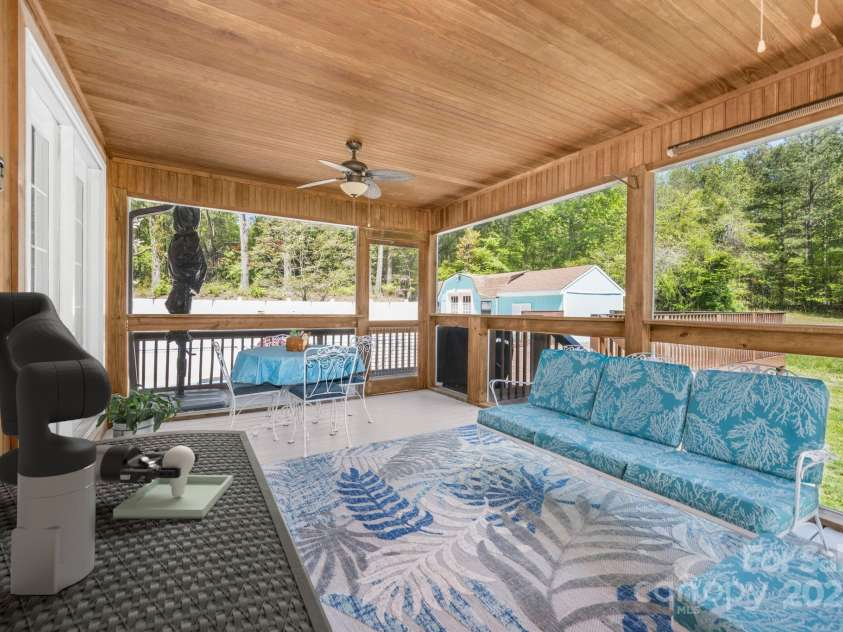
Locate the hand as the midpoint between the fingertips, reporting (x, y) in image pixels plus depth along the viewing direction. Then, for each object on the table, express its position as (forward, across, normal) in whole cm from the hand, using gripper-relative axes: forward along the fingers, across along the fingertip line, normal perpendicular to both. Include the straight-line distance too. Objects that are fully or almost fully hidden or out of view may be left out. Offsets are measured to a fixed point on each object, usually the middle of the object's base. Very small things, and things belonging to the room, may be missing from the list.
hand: (189, 464), depth 93 cm
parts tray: (-2, 0, +8) cm, 8 cm away
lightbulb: (-2, 0, +7) cm, 8 cm away
